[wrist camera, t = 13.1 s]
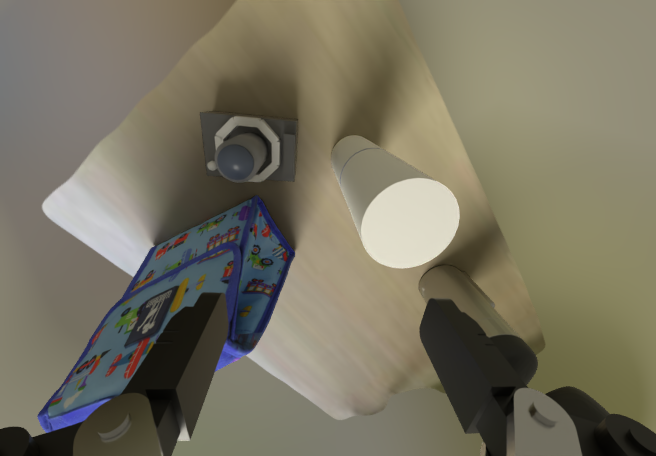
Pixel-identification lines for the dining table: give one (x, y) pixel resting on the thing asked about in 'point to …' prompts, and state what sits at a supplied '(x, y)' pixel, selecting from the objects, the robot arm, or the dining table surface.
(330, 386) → the dining table surface
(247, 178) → the lens
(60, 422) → the lunch bag
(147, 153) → the dining table surface
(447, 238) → the cylindrical container
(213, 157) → the camera body
